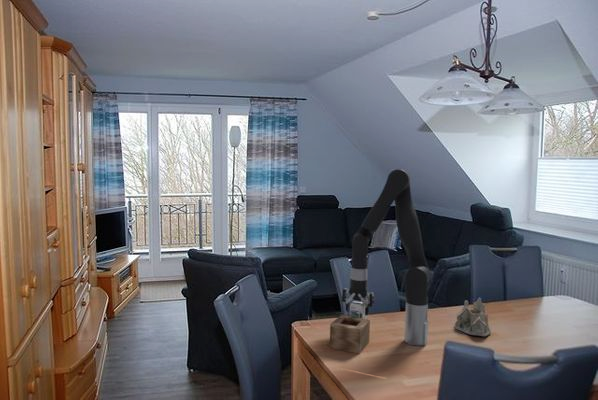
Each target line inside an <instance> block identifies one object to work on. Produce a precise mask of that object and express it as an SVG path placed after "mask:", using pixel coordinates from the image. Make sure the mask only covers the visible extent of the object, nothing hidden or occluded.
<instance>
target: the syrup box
mask: <svg viewBox="0 0 598 400" xmlns="http://www.w3.org/2000/svg"><path fill="white" fill-rule="evenodd" d="M365 307H366V306H365V304H364V303H363V302H362V301H358V300H353V301H352V302H350V311H349V316H350V317H356V318H362V319H367V315H365Z"/></svg>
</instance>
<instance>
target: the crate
mask: <svg viewBox="0 0 598 400" xmlns="http://www.w3.org/2000/svg"><path fill="white" fill-rule="evenodd" d="M370 327H371V320H370V319H367V318H366V319H362V318H356V317H350V315H349V316H348V315H342V314H340V315H339V316H338V317H337V318H336V319H335V320H334V321H332V322H331V323H330V324H329V349H335V350H338V351H339V350H340V351H343V352H344V351H345V352H349V353H354V354H359V355H360V354H361V353H362V352H364V351H363V350H364V349H366V347H367V346H368V345H369V344H370V330H371V328H370Z"/></svg>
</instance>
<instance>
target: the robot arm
mask: <svg viewBox="0 0 598 400" xmlns="http://www.w3.org/2000/svg"><path fill="white" fill-rule="evenodd" d="M392 204H395V221H396V226H397V232H398V235H399V239H400V242H401V244H402V246H403V248H404V251H405V252H406V255H407V260H408V266H409V267H408V268H409V269H407V271H406V273H405V276H404V277H405V278H404V295H405V316H404V318H405V319H404V321H405V322H404V342H405V343H406V344H409V345H412V346H426V345H427V343H428V340H429V339H428V337H429V319H428V316H429V315H428V312H429V297H428V283H429V281H430V279H431V271H430V268H429V264H428V262H427V259H426V256H425V251H424V244H423V238H422V233H421V228H420V222H419V218H418V215H417V212H416V209H415V206H414V202H413V199H412V193H411V179H410V176H409V173H407V172H406V171H405V170H403V169H401V168H396V169H394V170H392V171H391V172H389V174H388V175H387V179H386V181H385V184H384V187H383V189H382V190H381V193H380V195H379V197H378V198H377V200H376V201H375V203H374V204H373V206H372V207H371V209H370V210H369V212H367V215H366V217H365V218H364V220H363V222H362V223H361V225H360V227H359V228H358V230H356V231H355V234H354V235H353V238H352V240H351V247H352V248H351V252H352V253H351V254H352V256H351V266H350V267H351V268H350V274H349V275H350V276H349V278H350V281H349V288H348V287H344V288H342V293H341V294H342V296H341V302H342V303H345V311H346V313H350V304H351V301H352V300H353V301H357V302H363V303H364V304H365V306H366V307H365V315H366V316H368V315H369V314H370V307H371V308H372V307H373V306H374V305H375V293H374V291H371V292H368V263H369V262H368V252H369V250H368V249H369V242H370V241H371V239H372V237H373V235H374V234H375V233H376V231H378V230H379V228H380V226H381V225H382V223H383V222H384V220H385V218H386V216H387V214H388V213H389V210H390V208H391V206H392ZM348 293H349V297H348V298H347V296H348V295H347V294H348ZM367 297H368V298H369V299H368V298H367Z"/></svg>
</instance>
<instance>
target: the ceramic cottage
mask: <svg viewBox="0 0 598 400" xmlns="http://www.w3.org/2000/svg"><path fill="white" fill-rule="evenodd" d="M485 310H486V305H485V303H483V302H482V298H481V297H478V299H477V300H476V302H474V301H473V309H470V308H469V301H468V300H464V304H463V307H462V309H461V310H460V311H459V312H457V313H456V321H455V322H454V328H455V329H456V330H458V331H460V332H463V333H465V334H468V335H471V336H478V337H480V336H481V337H487V336H489V335H490V334H491V333H492V332H491V330H492V329H491V327H490V326H489V316H488V314H487V313H486V314H485Z"/></svg>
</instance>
